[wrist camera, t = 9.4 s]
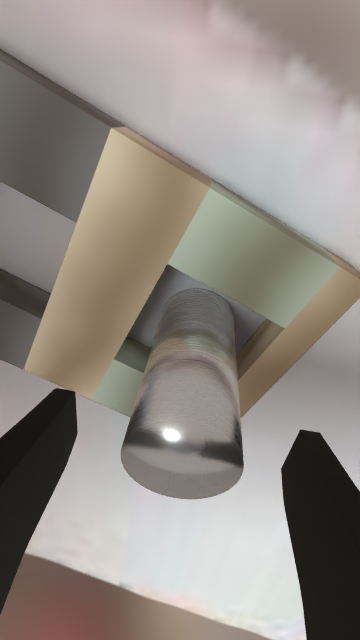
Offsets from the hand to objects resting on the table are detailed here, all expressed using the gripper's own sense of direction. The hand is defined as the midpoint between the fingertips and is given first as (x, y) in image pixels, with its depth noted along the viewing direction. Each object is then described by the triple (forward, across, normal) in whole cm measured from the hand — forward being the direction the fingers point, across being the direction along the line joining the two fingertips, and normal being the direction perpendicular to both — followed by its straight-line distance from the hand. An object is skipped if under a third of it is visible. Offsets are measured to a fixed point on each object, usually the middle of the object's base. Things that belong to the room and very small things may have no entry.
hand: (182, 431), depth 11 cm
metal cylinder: (+7, 0, 0) cm, 7 cm away
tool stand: (+7, +4, -2) cm, 8 cm away
